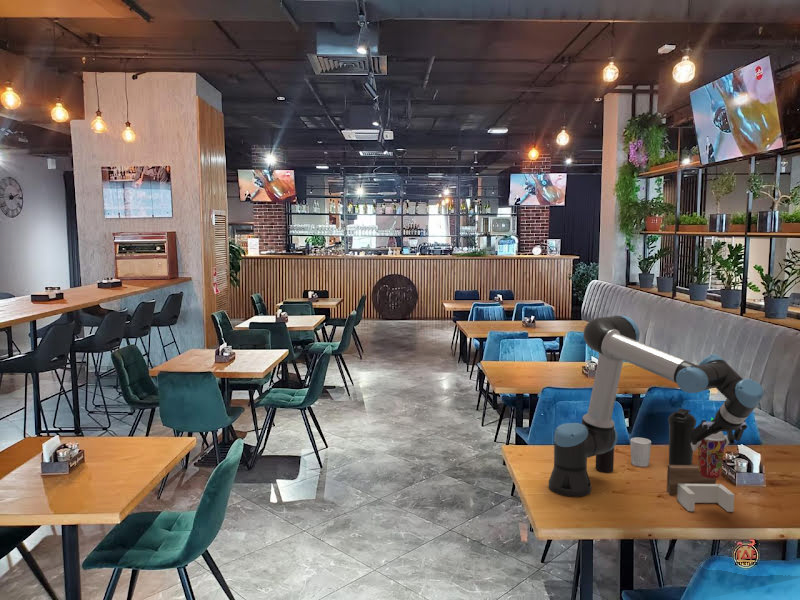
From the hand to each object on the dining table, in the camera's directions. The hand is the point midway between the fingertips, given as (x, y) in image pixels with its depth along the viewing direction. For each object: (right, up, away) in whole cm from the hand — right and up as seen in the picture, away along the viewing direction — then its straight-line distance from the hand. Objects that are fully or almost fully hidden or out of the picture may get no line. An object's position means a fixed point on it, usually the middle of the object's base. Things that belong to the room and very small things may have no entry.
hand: (706, 447), depth 208 cm
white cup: (-6, -17, +41) cm, 45 cm away
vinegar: (-23, -18, +35) cm, 45 cm away
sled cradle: (0, -20, +1) cm, 20 cm away
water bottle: (+9, -17, +39) cm, 44 cm away
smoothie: (0, -9, -3) cm, 9 cm away
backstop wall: (0, -19, +12) cm, 23 cm away
